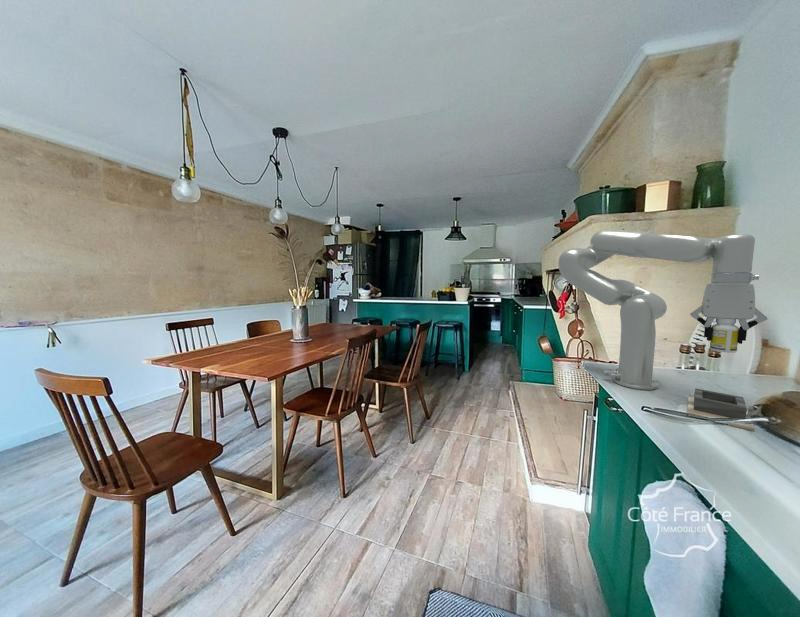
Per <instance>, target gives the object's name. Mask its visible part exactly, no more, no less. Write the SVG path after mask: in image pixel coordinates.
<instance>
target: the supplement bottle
mask: <svg viewBox="0 0 800 617" xmlns="http://www.w3.org/2000/svg"><path fill="white" fill-rule="evenodd" d="M715 323H716V324H713V325H711V327H712V337H711V341H709V349H710V350H711V351H712V352H713V351H714V352H719V353H730V354H731V353H732V354H734V353H737V351H738V344H739V343H738V334H739V328H740V327H739V326H737V325H735V324H736V323H737V319H724V318H715Z"/></svg>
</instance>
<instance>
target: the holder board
mask: <svg viewBox="0 0 800 617" xmlns="http://www.w3.org/2000/svg"><path fill="white" fill-rule="evenodd" d="M687 396H688V397H687V409H686V410H687V412H686V415H687V414H689V415H695V416H700V417H708V418H742V419H746V414H747V412H748V411H749V409H748V406H747V405H746V401H745V399H744V397H743V396H738V395H734V394H727V393H723V392H717V391H712V390H711V391H710V390H706V389H701V388H695V389H694V395H687ZM726 422H729V421H726ZM728 425H729V427H734V428H737V429H740V430H741V429H742V430H746V431H751V432H755V426H754V423H753V424H745V423H734V422H729V424H728ZM728 425H727V426H728Z"/></svg>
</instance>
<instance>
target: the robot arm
mask: <svg viewBox="0 0 800 617" xmlns="http://www.w3.org/2000/svg"><path fill="white" fill-rule="evenodd" d="M755 240H756V238H755V237H754V235H751V234H748V233H747V234H745V233H744V234H743V233H742V234H730V235H729V234H728V235H722V236H720V237H717V238H715V237H714V238H713V237H712V238H709V237H708V238H707V237H700V236H691V235H690V236H689V235H678V234H677V235H676V234H673V235H672V234H663V233H662V234H661V233H652V232H648V231H630V230H617V229H602V230H599V231H597V232H595V233H593V235H592V236H591V238H590V242H589V244H590V245H588V246H587V247H586V248H579V247H576V248H575V247H574V248H568V249H567V250H564V251H563V252H562V253H561V254H560V256H559V257H558V270H559V273H560V275H561V276H562V277H563V279H564V280H566V281H567V282H568V283H569V284H570V285H572V286H573V287H575V288H577V289H579V290H580V291H582V292H584V293H585V294H587V295H589V296H590V297H592V298H594V299H596V300H597V301H598V302H600V303H602V304H604V305H605V306H606V305H607V306H615V305H618V306H620V310H619V318H620V346H619V358H618V360H619V361H618V367H615V369H612V370H609V369H608V370H607V369H603V370H602V375H603V376H608V377H610V378H612V381H613V382H614V383H615V384H617V385H619V386H623V387H625V388H629V389H636V390H641V391H642V390H643V391H644V390H645V391H646V390H647V391H651V390H656V389H658V386H659V385H658V383H657V382H656V381H654V380H653V374H654V372H653V371H654V364H655V362H654V361H655V348H656V337H657V336H656V333H657V332H656V320H658V319H661V318H662V317H663V316H664V315H665V314H666V313H667V309H668V306H667V303H666V301H665V299H663V298H662V297H661V296H660V295H658V294H655V293H654V292H652V291H650V290H648V289H646V288H643V287H642V286H640V285H637V284H635V283H633V282H631V281H629V280H626V279H612V278H609V277H607V276H605V275H602V274H600V273H599V272H597V271H595V270H592V269H591V268H594V267H596V266H597V265H599V264H601V263H603V262H604V261H606V260H608V259H609V258H612V257H613V256H615V255H616V256H623V257H624V256H625V257H631V258H638V259H639V258H640V259H643V258H644V259H645V258H647V259H654V260H663V261H672V262H679V263H690V264H691V263H692V264H693V263H694V264H696V263H697V264H699V263H706V262H712V268H711V269H712V270H711V278H710V283H707V284H706V286H705V289H704V291H703V296H702V303H701V305H700V306H699V307H697V308H696V309H695V310H692V312H690V314H689V315H690V317H692V318H694V319H695V320H696V321H698V322H699V323H700V324H701V325H702V326H704V331H703V338H706V340H707V341H709V342H710V341H711V337H712V323H713V322H714V320H716V318H724V319H736V320H737V321H738V323H739V325H740V326H739V327H738V328H739V334H738V344H739V345H741V344H743V342H745V341H746V340H747V334H748V331H749V329H751V328H753V327H755V326H757V325H758V324H761V323H763V322H766V321H767V320H768V317H767V316H766V315H765V314H764V313H763V312H761V311H760V310H759V309H758V308H756V291H755V290H756V289H755V285H754V284H753V283H751V282H752V281H758V280H759V279H760V275H759V274H754V273H753V272H752V268H753V260H754V254H755V253H754V252H755V242H756V241H755ZM700 313H701V314H702V315H703V316H704V317H706V319H705V318H703V317H702V316H700V315H699V314H700ZM754 317H756V318H754ZM747 320H749V321H747Z"/></svg>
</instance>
